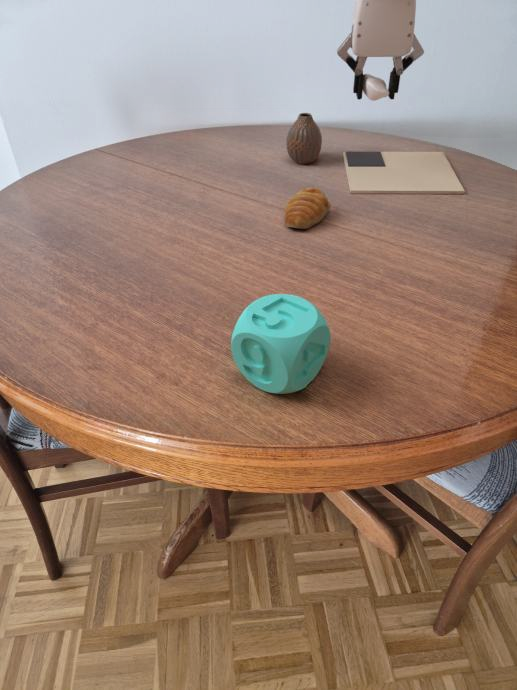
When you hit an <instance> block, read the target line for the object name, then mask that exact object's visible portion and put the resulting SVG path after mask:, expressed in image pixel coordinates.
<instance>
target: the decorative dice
mask: <svg viewBox="0 0 517 690" xmlns="http://www.w3.org/2000/svg"><path fill="white" fill-rule="evenodd" d="M330 343H331V331H330V328H329V325H328V322H327V320H326V318H325V316H324V315H323V314H322V312H321V311H320V310H319V309H318V308H317V307H316V306H315V305H314V304H313V303H312V302H310V301H309V300H307V299H306V298H303V297H301V296H298V295H294V294H288V293H274V294H268V295H265V296H262V297H259V298H257V299H256V300H254V301H252V302H251V303H249V304H248V306H246V308H245V309H244V310H243V311H242V313H241V314H240V316H239V318H238V319H237V321H236V323H235V325H234V328H233V331H232V335H231V341H230V350H231V355H232V359H233V361H234V363H235V365H236V368H237V369H238V371H239V372H240V373H241V375H242V376H243V377H244V378H245V380H247V381H248V382H249V383H250V384H251V385H253V386H254V387H256V388H257V389H258V390H260V391H264V392H267V393H271V394H277V395H279V394H280V395H284V394H285V395H286V394H292V393H296V392H299V391H301V390H303V389H305V388H307V387H308V386H309V385H310V384H311V383H312V382H313V380H314V379H315V378H316V376H317V375H318V374H319V372H320V371H321V369H322V367H323V365H324V363H325V360H326V359H327V356H328V353H329V349H330V345H331V344H330ZM311 381H312V382H311ZM310 382H311V383H310ZM309 383H310V384H309ZM308 384H309V385H308ZM307 385H308V386H307Z"/></svg>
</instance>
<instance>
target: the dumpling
mask: <svg viewBox="0 0 517 690" xmlns="http://www.w3.org/2000/svg"><path fill="white" fill-rule="evenodd" d="M363 75H364V83H363V92H362V93H363V94H364V95H365V96H366V97H367V99H368V100H370V101H378V100H381V99H383V98H387V97H389V96H388V95H389V91H388V88H387V84H386V82H385V80H384V79H382V78H380V77H376V76H374V75H371V74H369V73H363Z"/></svg>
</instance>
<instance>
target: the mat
mask: <svg viewBox="0 0 517 690" xmlns="http://www.w3.org/2000/svg"><path fill="white" fill-rule="evenodd" d="M447 158H448V157H446V155H445V153H444V151H342V159H343V163H344V164H343V165H344V168H345V169H344V170H345V173H346V178H347V184H348V189H349V193H350V194H353V195H354V194H355V195H357V194H358V195H359V194H361V195H362V194H363V195H364V194H367V195H368V194H370V195H371V194H373V195H375V194H376V195H377V194H380V195H381V194H382V195H383V194H384V195H386V194H387V195H392V194H393V195H397V194H398V195H465V193H466V190H465V189H464V187H463V185H462V183H461V181H460V180H459V178H458V176H457V174H456V172H455V171H454V169H453V168H452V166H451V164H450V162H449V160H448V159H447Z"/></svg>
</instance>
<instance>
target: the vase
mask: <svg viewBox="0 0 517 690" xmlns="http://www.w3.org/2000/svg"><path fill="white" fill-rule="evenodd" d="M322 144H323V137H322V132H321V129H320V127H319V126H318V124H317V122H315V120H314V118H313V115H312V114H311V113H310V112H301V113H299V114H298V116H297V118H296V120H295V121H294V122H293V124H292V125H291V126H290V128H289V130H288V131H287V135H286V145H285V146H286V151H287V154H288V156H289V157H290V159H291V160H292V161H293V162H294V163H296V164H298V165H299V164H301V165H307V164H308V165H309V164H311V163H313V162H314V161H315V160H316V159H317V158H318V157H319V155H320V154H321V150H322Z"/></svg>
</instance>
